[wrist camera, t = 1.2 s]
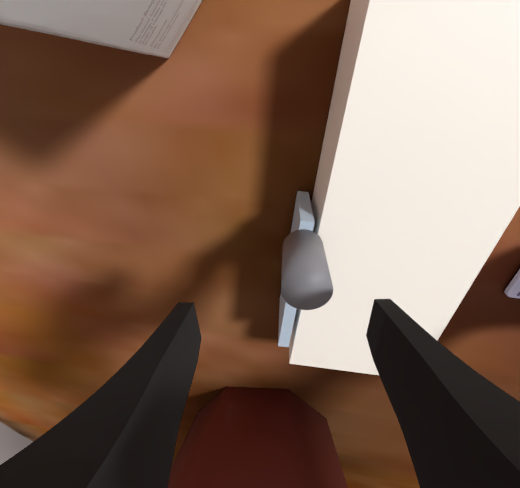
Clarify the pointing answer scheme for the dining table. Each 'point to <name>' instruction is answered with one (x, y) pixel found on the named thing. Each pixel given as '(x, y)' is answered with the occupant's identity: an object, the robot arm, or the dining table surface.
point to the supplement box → (106, 21)
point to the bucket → (257, 444)
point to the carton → (413, 167)
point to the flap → (302, 269)
